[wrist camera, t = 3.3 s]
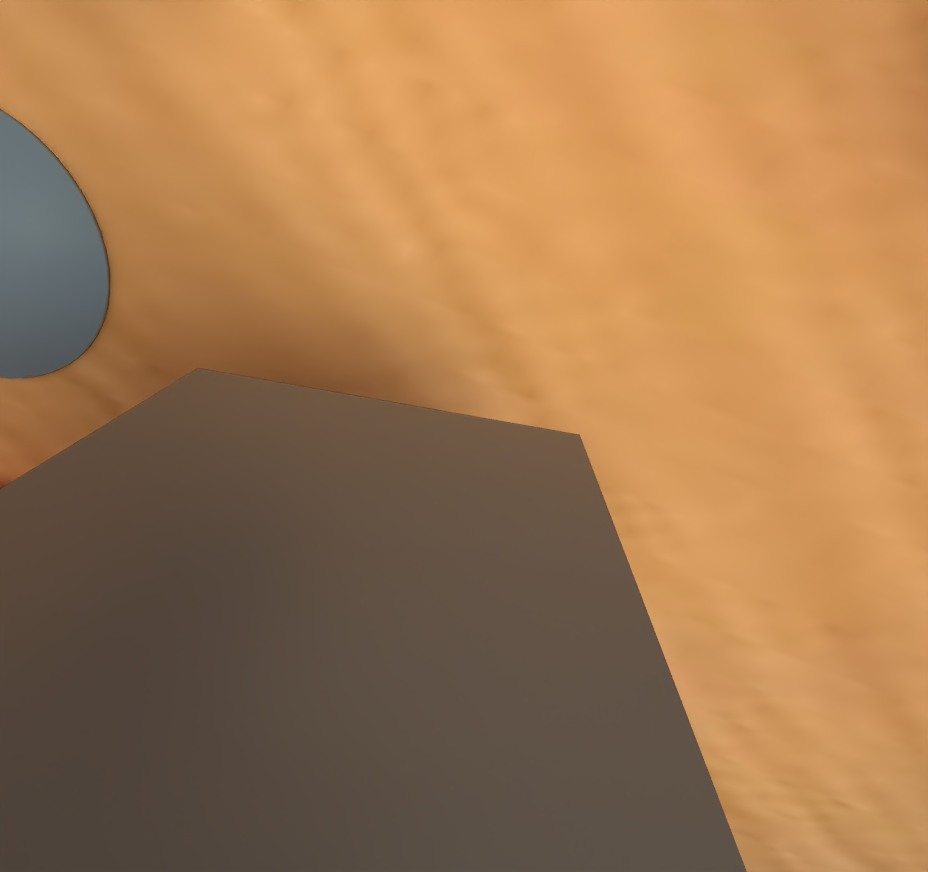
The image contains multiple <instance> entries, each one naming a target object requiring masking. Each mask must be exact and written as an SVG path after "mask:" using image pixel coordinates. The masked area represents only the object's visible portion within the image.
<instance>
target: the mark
mask: <svg viewBox="0 0 928 872" xmlns="http://www.w3.org/2000/svg"><path fill="white" fill-rule="evenodd" d="M109 294H110V273H109V264H108V258H107V252H106V248H105V245H104V241H103V238H102V234H101V231H100V229H99V226H98V224H97V221H96V219H95V216H94V214H93V212H92V210H91V208H90V206H89V204H88V202H87V200H86V199H85V197H84V195H83V193H82V191H81V190H80V188H79V187H78V185H77V184H76V182H75V181H74V179H73V178H72V176H71V175H70V173H69V172H68V171H67V169H66V168H65V167H64V166H63V165H62V163H61V162H60V161H59V160H58V158H57V157H56V156H55V155H54V154H53V153H52V152H51V151H50V150H49V149H48V148H47V147H46V146H45V144H44V143H43V142H42V141H41V140H40V139H39V138H38V137H36V136H35V135H34V134H33V133H32V132H31V131H29V130H28V129H27V128H26V127H25V126H23V125H22V124H21V123H20V122H18V121H17V120H16V119H14V118H13V117H11V116H10V115H8V114H7V113H5V112H4V111H2V110H1V109H0V377H2V378H29V377H35V376H41V375H44V374H47V373H50V372H54V371H56V370H58V369H60V368H62V367H64V366H66V365H68V364H70V363H72V362H73V361H74V360H76V359H77V358H78V357H80V356H81V355H82V354H83V353H84V352H85V351H86V350H87V349H88V348H89V347H90V346H91V344H92V343H93V341H94V340H95V338H96V337H97V335H98V333H99V331H100V329H101V327H102V324H103V322H104V320H105V316H106V312H107V308H108V304H109Z"/></svg>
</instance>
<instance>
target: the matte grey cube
mask: <svg viewBox="0 0 928 872" xmlns="http://www.w3.org/2000/svg"><path fill="white" fill-rule="evenodd" d="M0 872H747V871H746V869H745V866H744V863H743V861H742V858H741V856H740V853H739V850H738V848H737V845H736V843H735V840H734V837H733V835H732V832H731V829H730V827H729V824H728V822H727V819H726V816H725V814H724V811H723V809H722V806H721V803H720V801H719V798H718V795H717V793H716V790H715V788H714V785H713V782H712V780H711V777H710V775H709V772H708V769H707V767H706V764H705V761H704V759H703V756H702V754H701V751H700V748H699V746H698V743H697V741H696V738H695V735H694V733H693V730H692V727H691V725H690V722H689V720H688V717H687V714H686V712H685V709H684V707H683V704H682V701H681V699H680V696H679V694H678V691H677V688H676V686H675V683H674V680H673V678H672V675H671V673H670V670H669V667H668V665H667V662H666V660H665V657H664V654H663V652H662V649H661V646H660V644H659V641H658V639H657V636H656V633H655V631H654V628H653V626H652V623H651V620H650V618H649V615H648V612H647V610H646V607H645V605H644V602H643V599H642V597H641V594H640V592H639V589H638V586H637V584H636V581H635V578H634V576H633V573H632V571H631V568H630V565H629V563H628V560H627V558H626V555H625V552H624V550H623V547H622V544H621V542H620V539H619V537H618V534H617V531H616V529H615V526H614V524H613V521H612V518H611V516H610V513H609V510H608V508H607V505H606V503H605V500H604V497H603V495H602V492H601V490H600V487H599V484H598V482H597V479H596V476H595V474H594V471H593V469H592V466H591V463H590V461H589V458H588V456H587V453H586V450H585V448H584V445H583V443H582V440H581V437H580V435H578V434H573V433H567V432H561V431H555V430H550V429H544V428H538V427H533V426H527V425H521V424H515V423H510V422H504V421H498V420H492V419H487V418H481V417H475V416H470V415H464V414H458V413H452V412H447V411H441V410H435V409H429V408H424V407H418V406H412V405H407V404H401V403H395V402H389V401H384V400H378V399H372V398H366V397H361V396H355V395H349V394H344V393H338V392H332V391H326V390H321V389H315V388H309V387H304V386H298V385H292V384H286V383H281V382H275V381H269V380H263V379H258V378H252V377H246V376H241V375H235V374H229V373H223V372H218V371H212V370H206V369H200V368H197V369H196V370H194V371H192V372H191V373H189V374H187V375H186V376H184V377H183V378H181V379H179V380H178V381H176V382H174V383H173V384H171V385H169V386H168V387H166V388H165V389H163V390H161V391H160V392H158V393H156V394H155V395H153V396H151V397H150V398H148V399H147V400H145V401H143V402H142V403H140V404H138V405H137V406H135V407H133V408H132V409H130V410H129V411H127V412H125V413H124V414H122V415H120V416H119V417H117V418H115V419H114V420H112V421H111V422H109V423H107V424H106V425H104V426H102V427H101V428H99V429H97V430H96V431H94V432H93V433H91V434H89V435H88V436H86V437H84V438H83V439H81V440H79V441H78V442H76V443H75V444H73V445H71V446H70V447H68V448H66V449H65V450H63V451H61V452H60V453H58V454H57V455H55V456H53V457H52V458H50V459H48V460H47V461H45V462H43V463H42V464H40V465H39V466H37V467H35V468H34V469H32V470H30V471H29V472H27V473H25V474H24V475H22V476H21V477H19V478H17V479H16V480H14V481H12V482H11V483H9V484H7V485H6V486H4V487H3V488H1V489H0Z"/></svg>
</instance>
